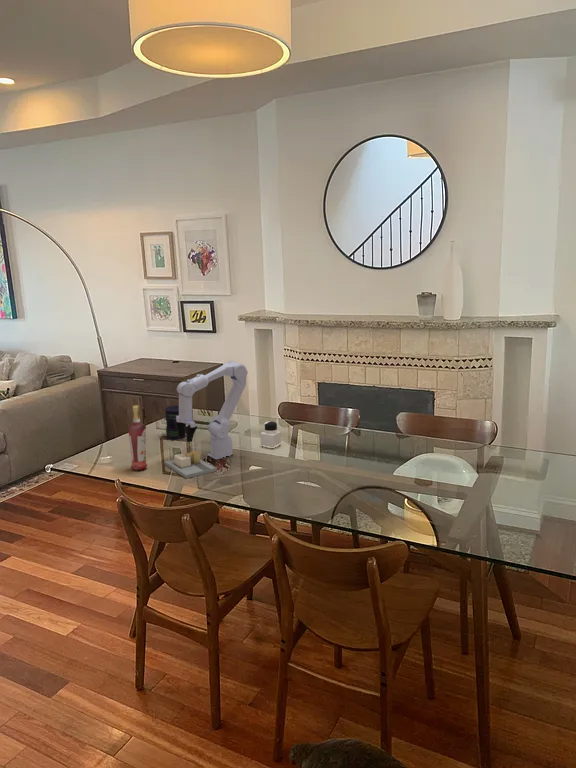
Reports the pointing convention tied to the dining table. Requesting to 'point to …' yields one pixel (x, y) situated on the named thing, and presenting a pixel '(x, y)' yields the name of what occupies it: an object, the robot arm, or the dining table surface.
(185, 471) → the panel
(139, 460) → the liquor
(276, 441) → the medicine bottle
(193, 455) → the wooden l-shaped block
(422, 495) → the dining table surface
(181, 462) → the cover
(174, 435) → the storage jar
